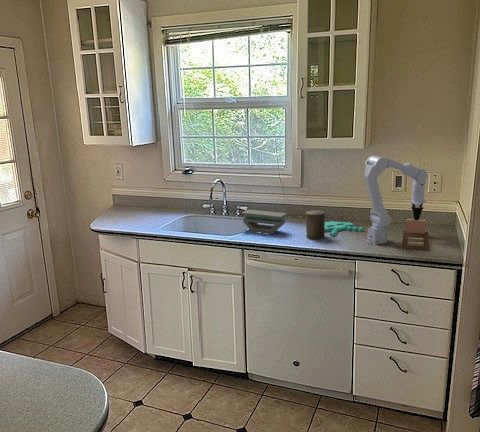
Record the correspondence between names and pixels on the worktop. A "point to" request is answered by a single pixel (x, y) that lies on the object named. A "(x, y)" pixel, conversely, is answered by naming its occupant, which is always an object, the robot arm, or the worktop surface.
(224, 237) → the worktop surface
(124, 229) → the worktop surface
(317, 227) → the pillar candle
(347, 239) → the worktop surface
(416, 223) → the salmon rectangular slab
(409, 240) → the offcut
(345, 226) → the teal pixel toy sword
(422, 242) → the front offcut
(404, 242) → the rack
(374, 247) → the worktop surface
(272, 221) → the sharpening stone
